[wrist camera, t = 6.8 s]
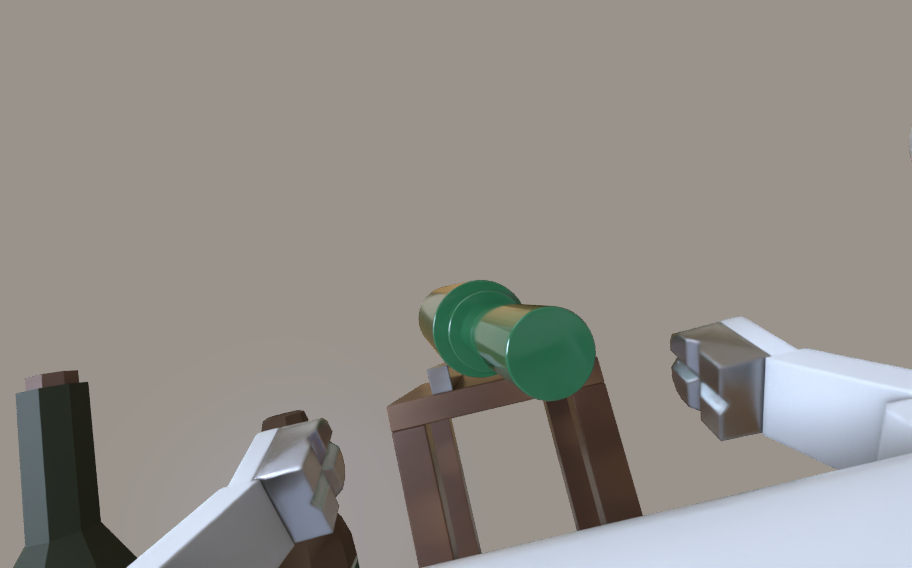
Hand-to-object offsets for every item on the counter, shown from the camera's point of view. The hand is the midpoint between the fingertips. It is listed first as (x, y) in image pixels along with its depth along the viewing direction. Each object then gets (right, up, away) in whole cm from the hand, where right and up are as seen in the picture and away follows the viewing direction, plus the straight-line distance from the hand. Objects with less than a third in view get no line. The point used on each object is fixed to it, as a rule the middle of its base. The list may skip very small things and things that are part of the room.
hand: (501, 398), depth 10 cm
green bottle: (+1, -1, +10) cm, 10 cm away
